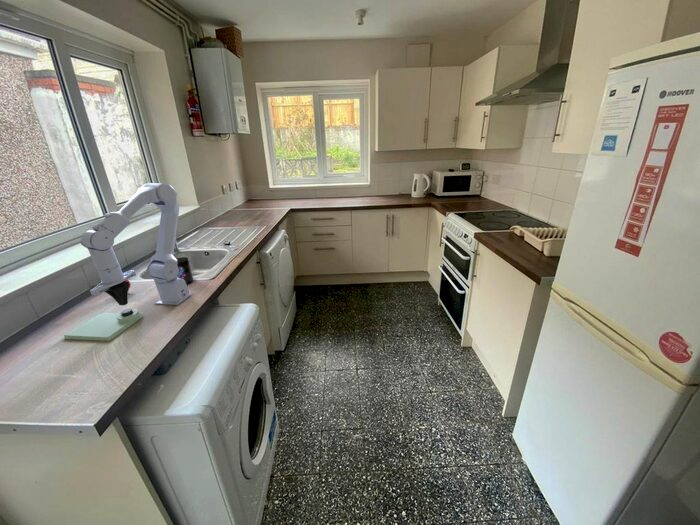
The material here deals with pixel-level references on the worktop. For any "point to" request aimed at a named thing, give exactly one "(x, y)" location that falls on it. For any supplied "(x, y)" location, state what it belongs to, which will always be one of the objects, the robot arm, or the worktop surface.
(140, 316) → the scale
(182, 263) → the supplement container
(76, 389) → the worktop surface
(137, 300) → the worktop surface
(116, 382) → the worktop surface
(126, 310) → the tare button
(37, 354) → the worktop surface
